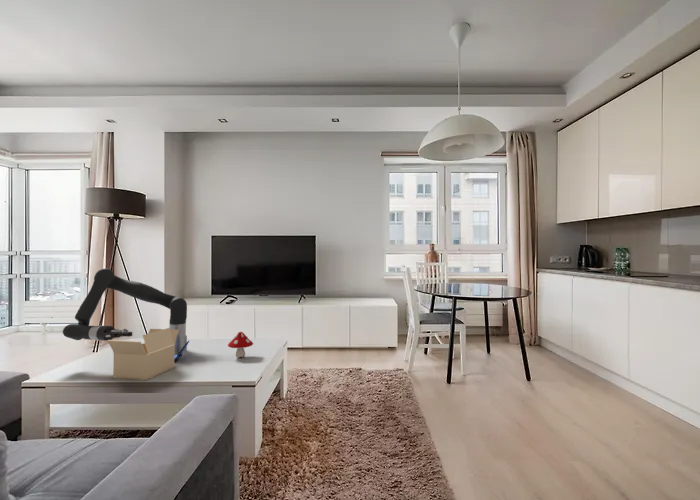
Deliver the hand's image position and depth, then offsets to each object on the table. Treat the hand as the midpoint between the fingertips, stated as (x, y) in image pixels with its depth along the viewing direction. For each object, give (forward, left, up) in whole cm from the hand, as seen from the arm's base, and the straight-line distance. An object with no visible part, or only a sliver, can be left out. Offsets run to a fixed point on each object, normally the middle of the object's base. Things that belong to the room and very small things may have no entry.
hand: (131, 334), depth 184 cm
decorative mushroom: (-53, +10, -19) cm, 58 cm away
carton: (-5, +6, -19) cm, 21 cm away
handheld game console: (-23, -10, -20) cm, 32 cm away
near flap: (-10, +12, -2) cm, 16 cm away
